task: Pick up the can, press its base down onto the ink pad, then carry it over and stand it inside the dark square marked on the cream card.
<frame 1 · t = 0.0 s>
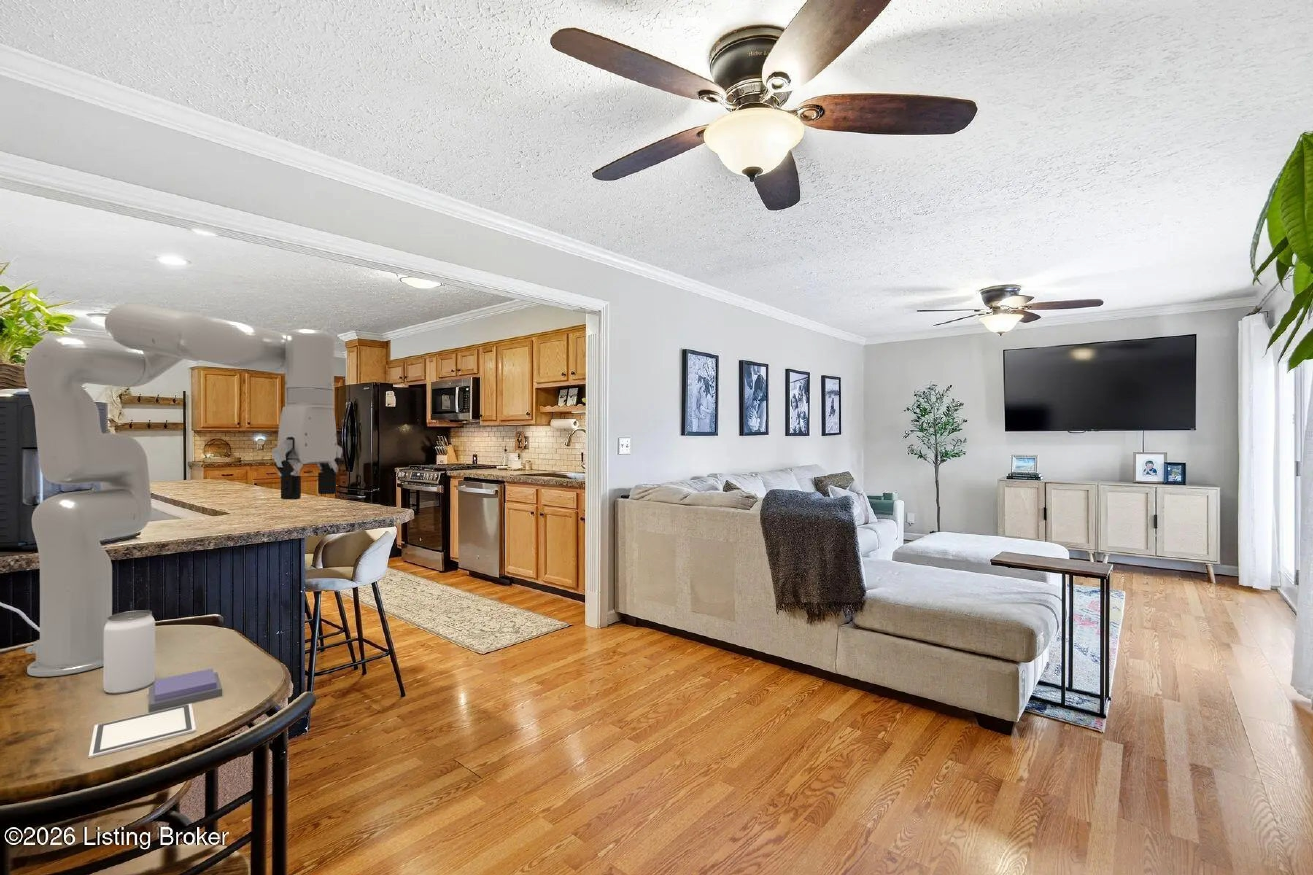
hand: (309, 496, 106), 31 cm above the table, tool pointing down, fingers open, 9 cm apart
can: (129, 687, 100), on the table
ink pad: (185, 694, 97), on the table
marked card: (144, 729, 85), on the table
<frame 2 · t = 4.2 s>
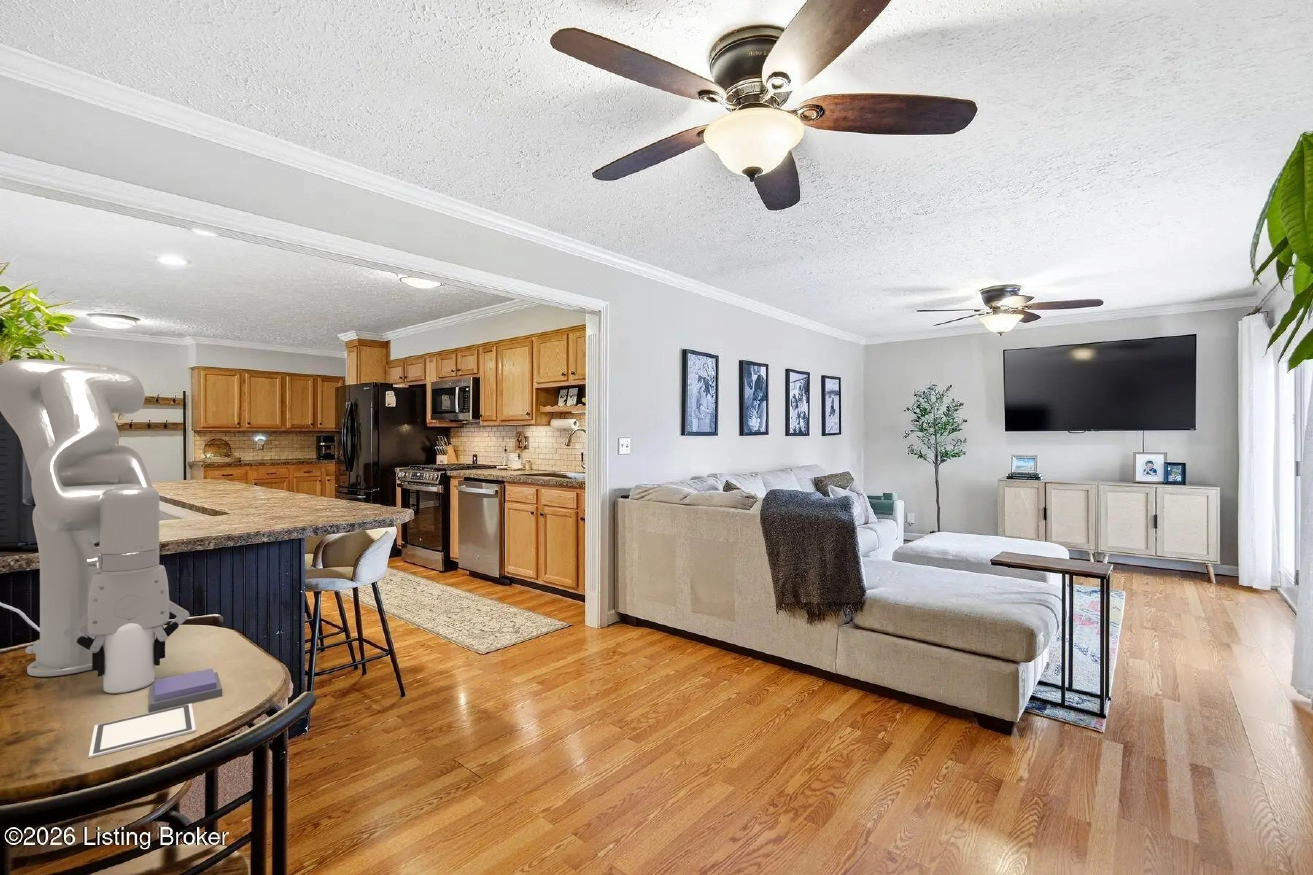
hand: (129, 667, 100), 3 cm above the table, tool pointing down, fingers closed on can, 6 cm apart
can: (129, 687, 100), on the table, touching gripper
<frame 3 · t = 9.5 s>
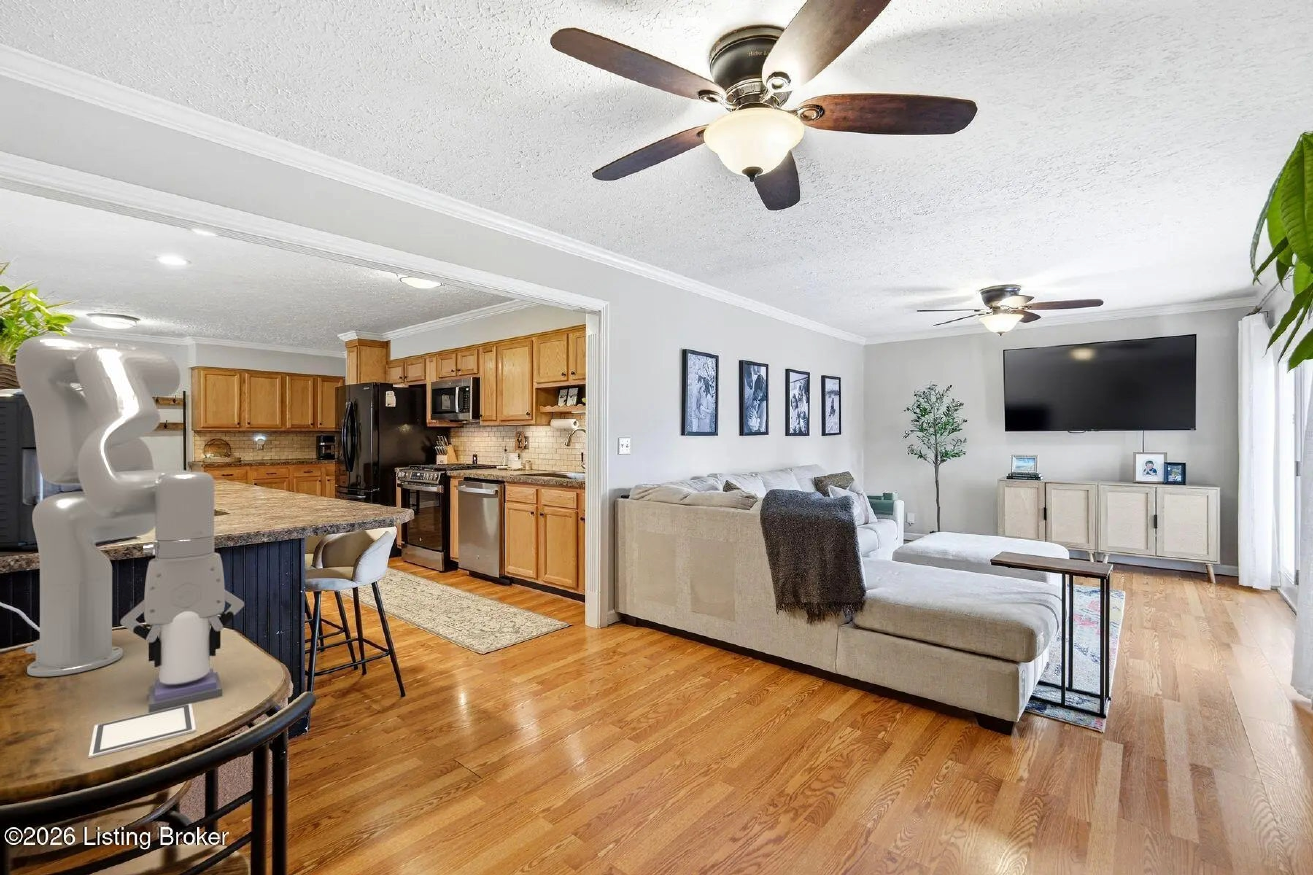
hand: (185, 658, 97), 6 cm above the table, tool pointing down, fingers closed on can, 6 cm apart
can: (185, 678, 97), point 3 cm above the table, touching gripper
when the fingers open (4 cm above the table, at t = 15.1 s): can stays where it is, resting on marked card.
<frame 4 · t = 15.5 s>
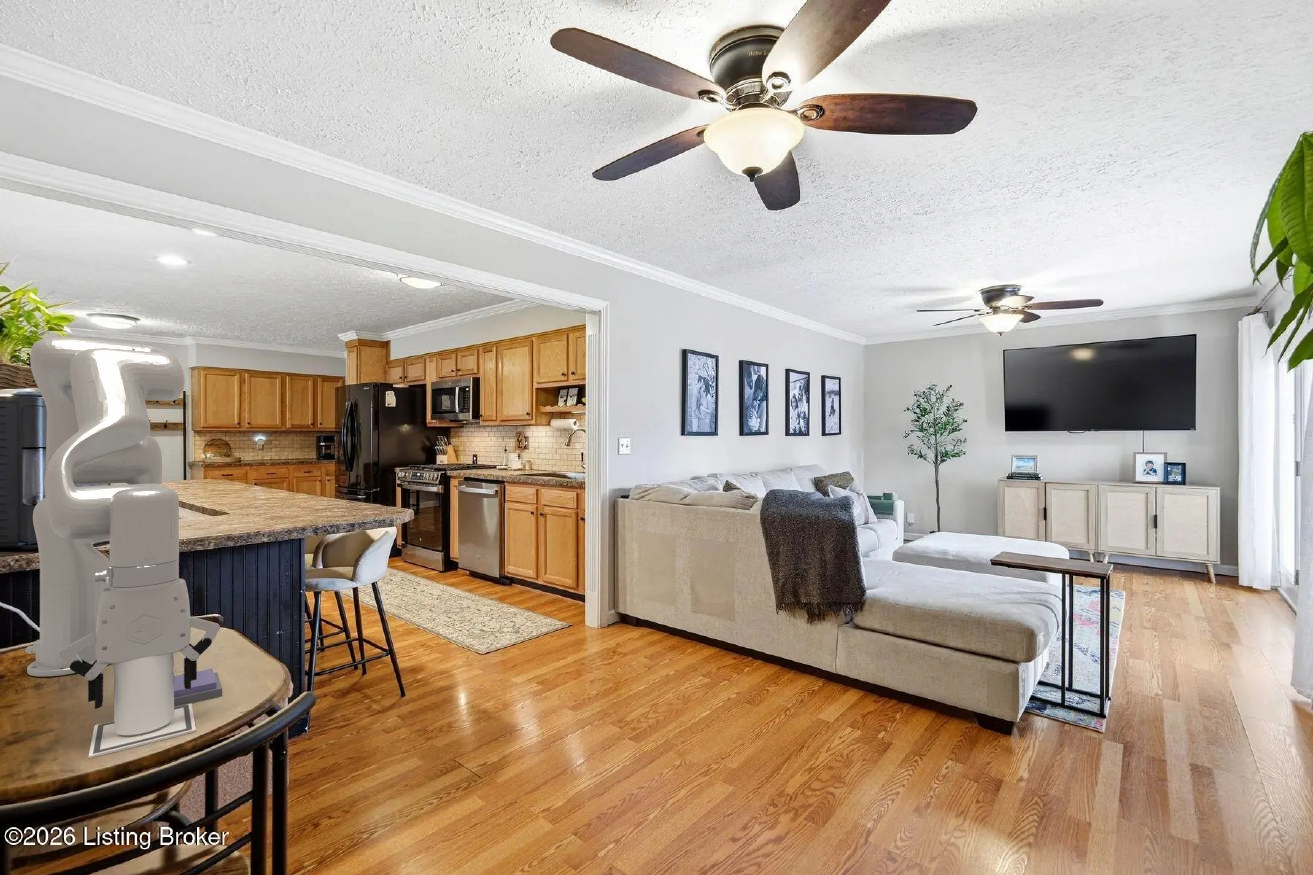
hand: (144, 695, 85), 5 cm above the table, tool pointing down, fingers open, 9 cm apart
can: (145, 727, 85), resting on marked card
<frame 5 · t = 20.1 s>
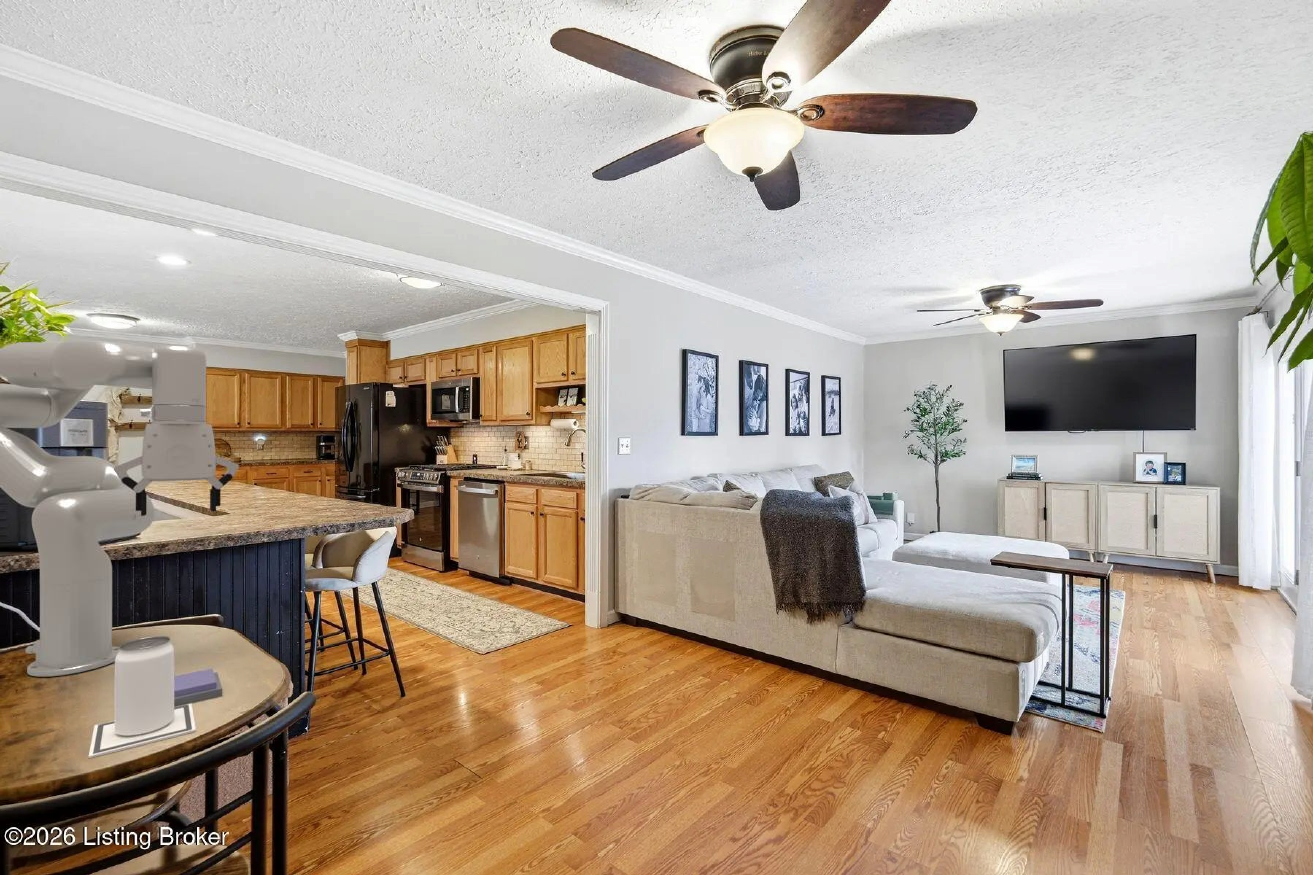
hand: (179, 512, 106), 28 cm above the table, tool pointing down, fingers open, 9 cm apart
nothing on the table moved.
at the end: can 0.2 cm from the marked card (horizontally); can tilted 0°; the gripper is holding nothing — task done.
